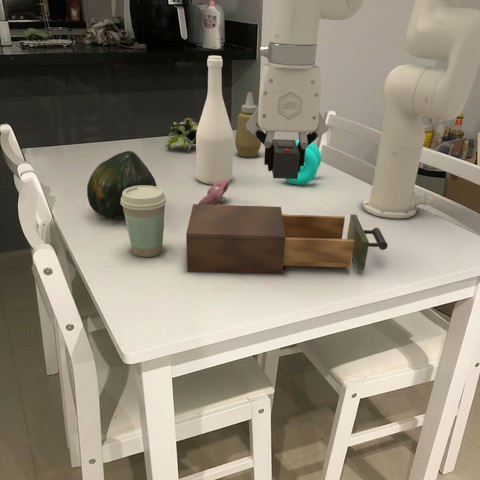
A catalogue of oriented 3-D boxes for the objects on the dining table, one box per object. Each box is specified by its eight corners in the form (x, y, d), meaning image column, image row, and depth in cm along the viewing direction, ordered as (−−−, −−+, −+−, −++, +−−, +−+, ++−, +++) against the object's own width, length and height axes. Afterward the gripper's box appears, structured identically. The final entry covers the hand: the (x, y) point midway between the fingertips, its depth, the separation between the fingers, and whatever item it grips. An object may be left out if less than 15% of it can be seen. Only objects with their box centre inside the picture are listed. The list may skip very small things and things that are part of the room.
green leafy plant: (190, 163, 174) (210, 131, 171) (192, 166, 164) (214, 132, 161) (160, 142, 170) (180, 109, 167) (161, 145, 160) (182, 109, 157)
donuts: (277, 184, 142) (280, 146, 136) (284, 173, 150) (286, 136, 145) (315, 188, 140) (319, 149, 135) (319, 176, 148) (323, 140, 143)
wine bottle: (237, 183, 141) (240, 58, 125) (203, 187, 138) (202, 59, 122) (224, 173, 148) (226, 53, 132) (192, 176, 145) (189, 54, 129)
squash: (69, 186, 120) (89, 144, 108) (126, 175, 129) (149, 135, 117) (98, 240, 118) (121, 203, 106) (153, 225, 127) (179, 190, 116)
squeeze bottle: (231, 152, 166) (232, 90, 157) (255, 151, 169) (258, 89, 159) (239, 159, 160) (240, 95, 150) (264, 158, 162) (267, 94, 152)
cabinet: (278, 241, 111) (281, 206, 107) (282, 274, 98) (285, 236, 94) (193, 239, 111) (193, 203, 106) (187, 271, 98) (186, 233, 94)
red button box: (293, 163, 99) (295, 138, 97) (297, 179, 91) (300, 151, 89) (270, 163, 99) (272, 137, 96) (273, 178, 91) (275, 151, 89)
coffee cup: (148, 238, 110) (144, 181, 104) (177, 250, 106) (175, 191, 99) (116, 251, 105) (109, 191, 98) (145, 264, 100) (141, 203, 94)
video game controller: (212, 217, 125) (226, 193, 121) (195, 207, 124) (208, 182, 120) (222, 203, 133) (235, 179, 129) (206, 193, 132) (219, 169, 128)
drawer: (373, 241, 110) (378, 215, 107) (388, 271, 99) (393, 243, 95) (272, 238, 110) (274, 211, 107) (275, 268, 98) (277, 239, 95)
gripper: (239, 56, 82) (236, 174, 92) (348, 60, 82) (333, 177, 92) (239, 51, 88) (236, 162, 98) (340, 55, 89) (327, 164, 98)
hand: (283, 168), depth 95 cm, fingers closed on red button box, 4 cm apart
